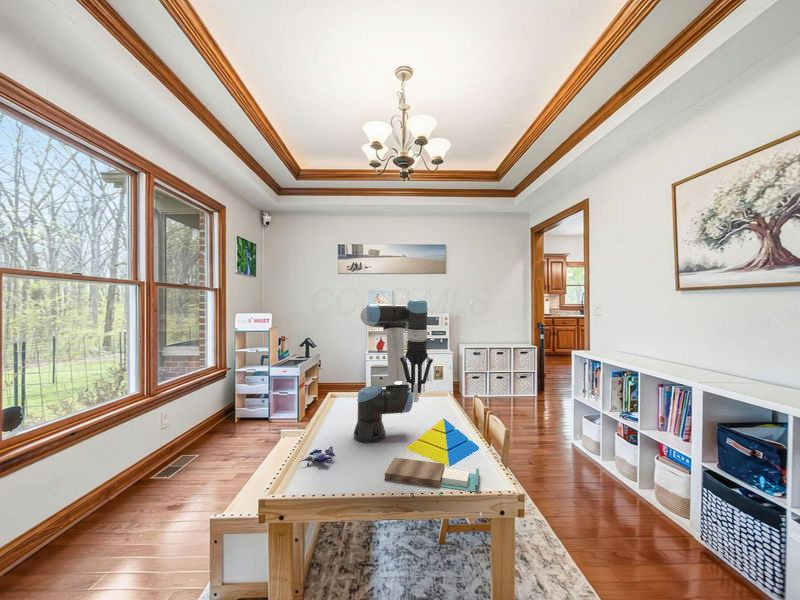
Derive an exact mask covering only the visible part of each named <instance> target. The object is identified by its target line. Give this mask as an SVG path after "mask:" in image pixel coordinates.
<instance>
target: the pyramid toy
mask: <svg viewBox="0 0 800 600" xmlns="http://www.w3.org/2000/svg"><path fill="white" fill-rule="evenodd" d="M479 447H480V446H479V445H477V444H476V443H475V442H474V441H472V440H471V439H470V438H469V437H468V436H467V435H465V434H464V433H463V432H462V431H460V430H459V429H457V428H456V427H455V426H454V425H453V424H451V423H450V422H449V421H448V420H447V419H446V418H444V417H442V419H440V420H439V421H438V422H437V423H435V424H434V425H433V426H432V427H431V428H429V429H428V430H427V431H426V432H424V433H423V434H421V435H420V436H419V437H418V439H415V441H413V442H412V443H410V445H408V446H406V448H405V449H406V450H408V451H410V452H413V453H415V454H417V455H420V456H422V457H425V458H427V459H429V460H432V461H434V462H435V463H443V464H444V466H445V467H449V468H450V467H452V466H454V465H455V464H457V463H459V462H461V461H462V460H464V459H466V458H468V457H469V456H471V455H473V454H474V453H473V452H475V451H476V452H478V451H479V450H478V449H479ZM477 450H478V451H477ZM476 452H475V453H476ZM472 453H473V454H472ZM470 454H471V455H470ZM467 456H468V457H467Z"/></svg>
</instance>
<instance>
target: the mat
mask: <svg viewBox="0 0 800 600" xmlns="http://www.w3.org/2000/svg"><path fill="white" fill-rule="evenodd" d="M479 481H480V469H479V468H476V469H475V473H471V472H469V481H468V487H464V486H457V485H450V484H444V483H442V480H441V484H440V488H443V489H451V490H458V491H464V490H468V491H467V492H471V491H474V490H475V491H478V492H479V483H478V482H479Z"/></svg>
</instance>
